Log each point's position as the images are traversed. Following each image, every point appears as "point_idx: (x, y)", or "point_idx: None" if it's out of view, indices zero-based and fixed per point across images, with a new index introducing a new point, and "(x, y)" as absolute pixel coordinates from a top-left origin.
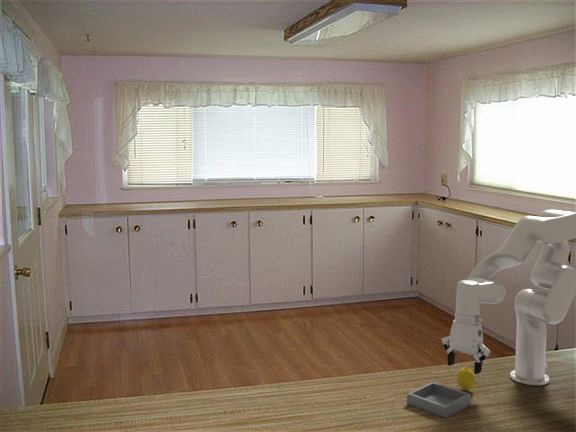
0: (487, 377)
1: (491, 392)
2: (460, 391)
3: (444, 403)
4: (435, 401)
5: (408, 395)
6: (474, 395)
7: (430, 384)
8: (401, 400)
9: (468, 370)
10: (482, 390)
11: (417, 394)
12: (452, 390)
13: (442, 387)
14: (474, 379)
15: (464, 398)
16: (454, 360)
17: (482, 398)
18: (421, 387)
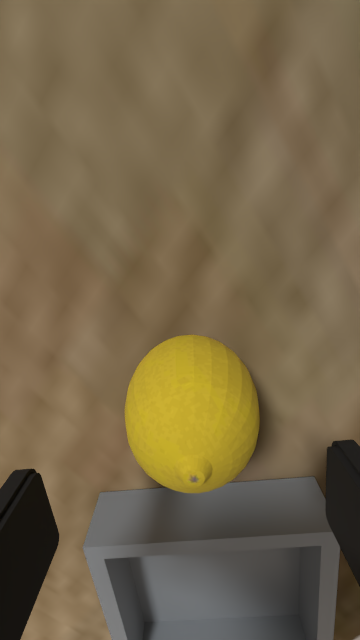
0: (129, 3)
1: (312, 261)
2: (276, 540)
3: (233, 554)
4: (194, 564)
5: None
6: (263, 376)
7: (108, 577)
8: (97, 614)
9: (228, 472)
10: (255, 280)
11: (133, 627)
12: (229, 545)
13: (165, 548)
14: (253, 384)
15: (336, 575)
16: (19, 507)
17: (316, 375)
18: (111, 621)
